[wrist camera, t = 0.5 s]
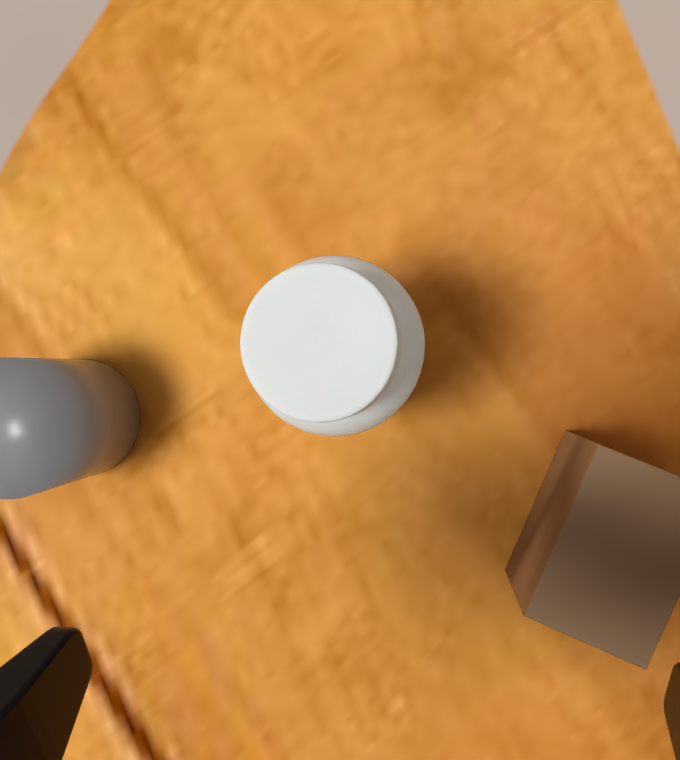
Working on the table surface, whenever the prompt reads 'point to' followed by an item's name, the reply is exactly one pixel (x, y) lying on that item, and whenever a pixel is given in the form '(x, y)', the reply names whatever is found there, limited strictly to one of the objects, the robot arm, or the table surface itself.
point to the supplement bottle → (333, 345)
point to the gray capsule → (61, 422)
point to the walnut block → (601, 550)
